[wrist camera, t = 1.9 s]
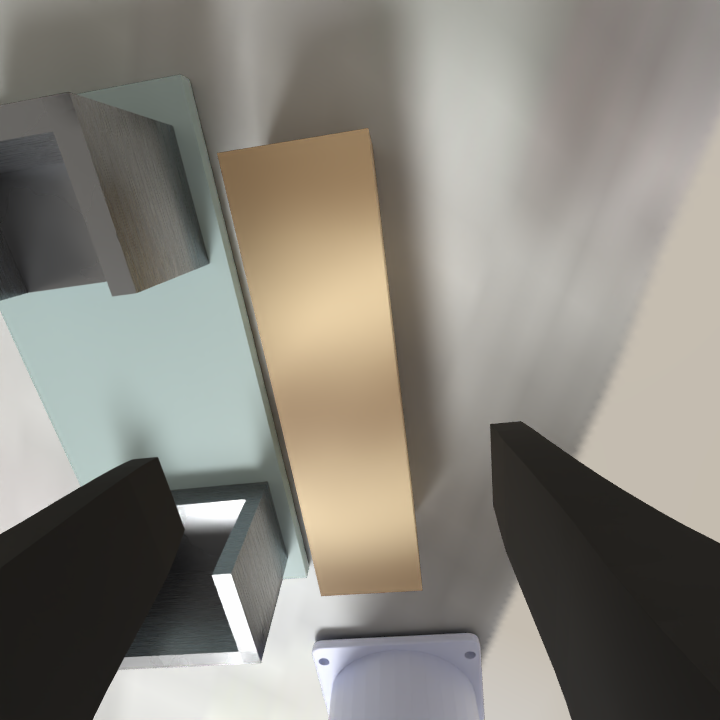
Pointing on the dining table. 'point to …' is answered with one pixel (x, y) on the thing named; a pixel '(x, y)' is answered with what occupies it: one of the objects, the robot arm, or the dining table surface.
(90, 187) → the bracket
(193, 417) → the board
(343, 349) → the rail
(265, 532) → the bracket
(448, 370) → the dining table surface
